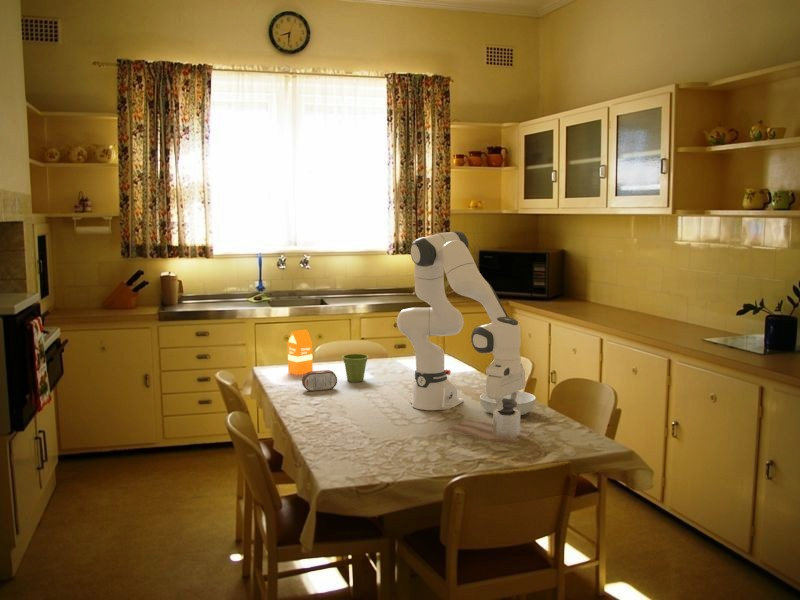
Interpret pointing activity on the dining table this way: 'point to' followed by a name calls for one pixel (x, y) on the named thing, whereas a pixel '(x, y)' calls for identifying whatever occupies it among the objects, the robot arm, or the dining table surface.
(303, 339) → the orange juice
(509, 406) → the control knob
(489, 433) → the walnut board
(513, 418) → the white cylinder
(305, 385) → the tin
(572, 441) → the dining table surface
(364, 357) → the plant pot
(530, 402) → the serving bowl
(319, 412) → the dining table surface
